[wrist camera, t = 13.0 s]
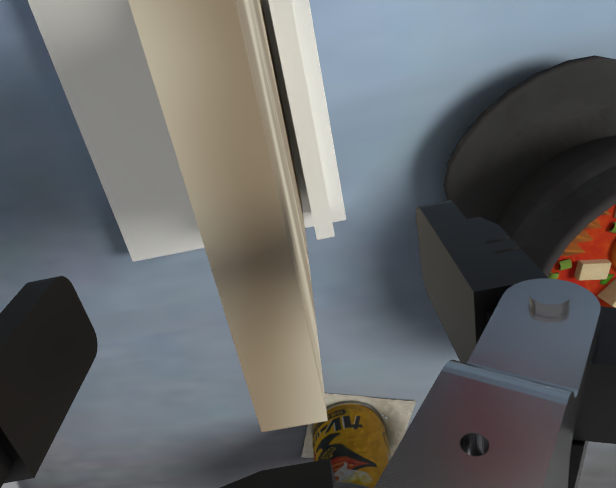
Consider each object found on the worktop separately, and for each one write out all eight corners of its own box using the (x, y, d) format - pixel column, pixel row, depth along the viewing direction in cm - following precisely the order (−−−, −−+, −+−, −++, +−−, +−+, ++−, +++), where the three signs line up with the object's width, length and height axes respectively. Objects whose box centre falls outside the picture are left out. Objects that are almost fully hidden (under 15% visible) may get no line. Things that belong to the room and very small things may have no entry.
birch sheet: (258, -18, 25) (226, -35, 9) (301, 198, 31) (327, 420, 15) (220, -10, 26) (124, -14, 9) (269, 204, 31) (261, 432, 15)
